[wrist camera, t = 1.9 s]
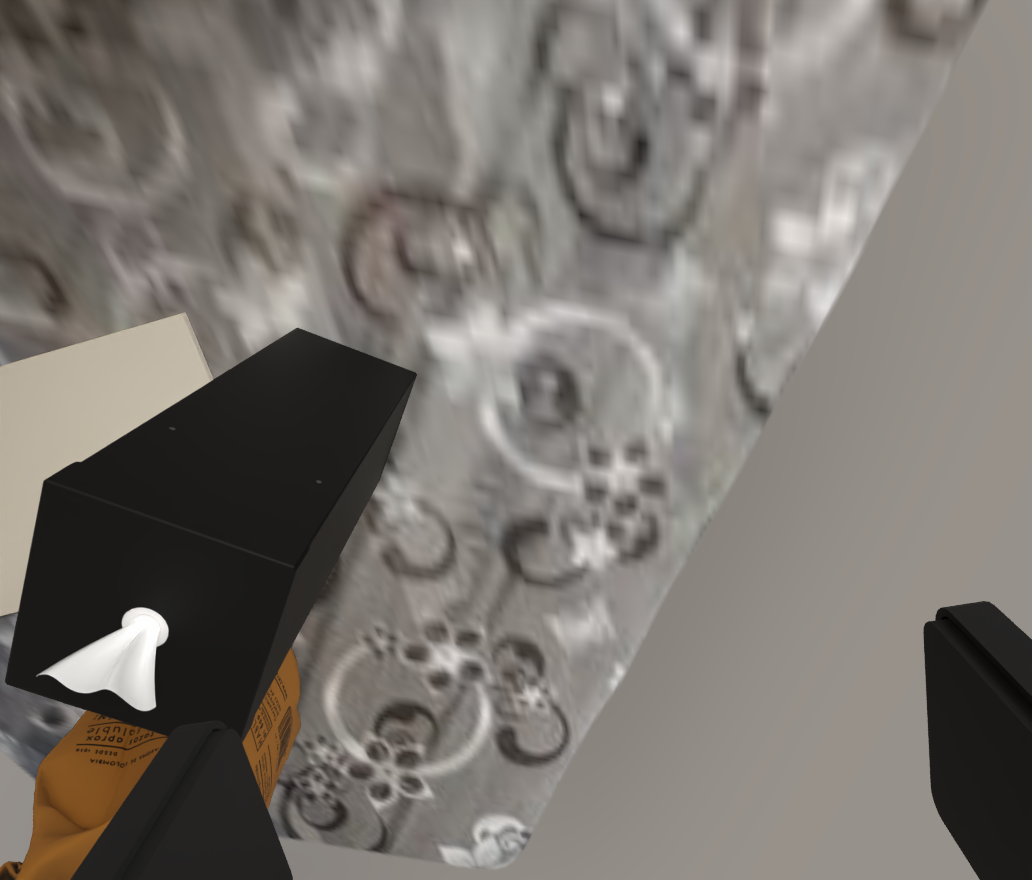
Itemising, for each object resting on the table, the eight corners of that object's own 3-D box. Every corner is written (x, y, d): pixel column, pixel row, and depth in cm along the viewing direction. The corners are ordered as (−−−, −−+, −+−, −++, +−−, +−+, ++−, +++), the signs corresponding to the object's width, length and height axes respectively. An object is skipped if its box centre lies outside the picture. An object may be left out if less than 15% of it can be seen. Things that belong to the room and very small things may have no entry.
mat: (185, 312, 46) (181, 313, 45) (282, 543, 51) (279, 546, 50) (-184, 419, 49) (-191, 422, 48) (-59, 627, 54) (-64, 631, 53)
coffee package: (182, 744, 56) (-27, 1075, 36) (154, 598, 52) (-99, 875, 32) (315, 746, 56) (182, 1081, 35) (297, 599, 52) (136, 880, 31)
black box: (379, 481, 49) (192, 839, 23) (262, 439, 48) (-74, 756, 22) (419, 371, 46) (259, 628, 20) (296, 324, 46) (-38, 527, 19)
